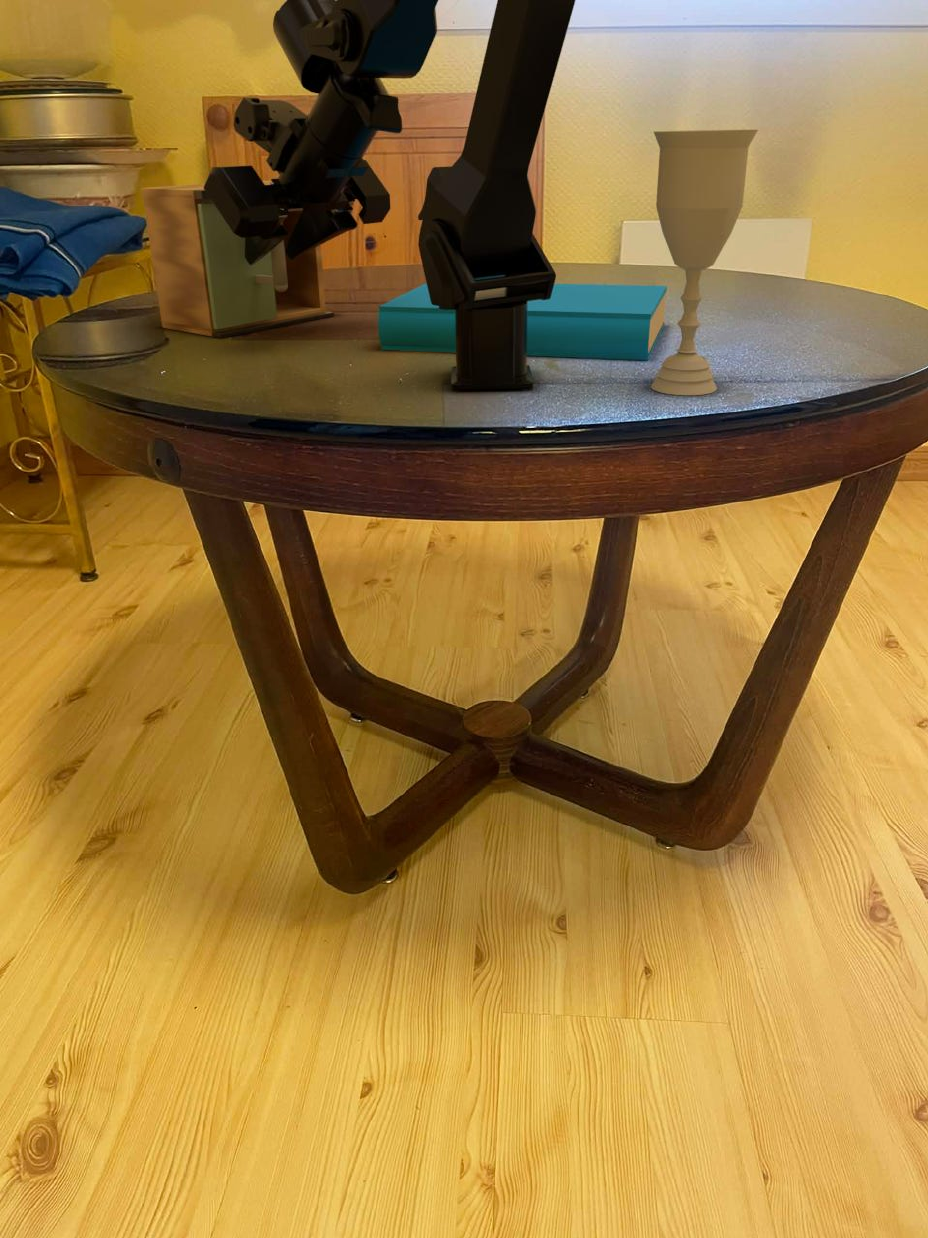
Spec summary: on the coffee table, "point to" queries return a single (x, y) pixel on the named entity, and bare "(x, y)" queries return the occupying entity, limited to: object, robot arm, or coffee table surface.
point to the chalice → (697, 230)
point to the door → (238, 274)
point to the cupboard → (186, 273)
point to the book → (543, 322)
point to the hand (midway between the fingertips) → (269, 258)
